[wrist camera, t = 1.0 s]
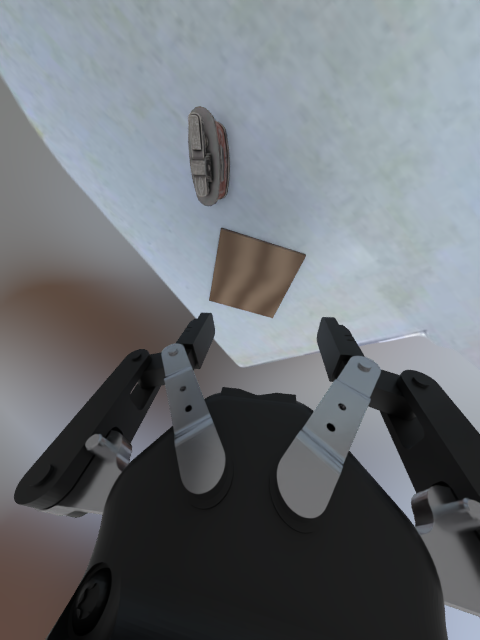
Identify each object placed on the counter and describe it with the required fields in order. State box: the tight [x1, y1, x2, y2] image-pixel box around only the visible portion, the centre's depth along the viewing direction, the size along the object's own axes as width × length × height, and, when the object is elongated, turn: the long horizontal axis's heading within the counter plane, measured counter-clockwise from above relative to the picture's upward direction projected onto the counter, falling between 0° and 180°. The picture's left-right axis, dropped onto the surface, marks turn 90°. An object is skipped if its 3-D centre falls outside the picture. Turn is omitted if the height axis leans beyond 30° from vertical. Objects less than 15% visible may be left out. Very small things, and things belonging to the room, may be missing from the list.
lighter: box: [188, 107, 230, 206], centre depth 21 cm, size 8×3×10 cm, turn 178°
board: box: [209, 228, 306, 318], centre depth 36 cm, size 16×16×1 cm
